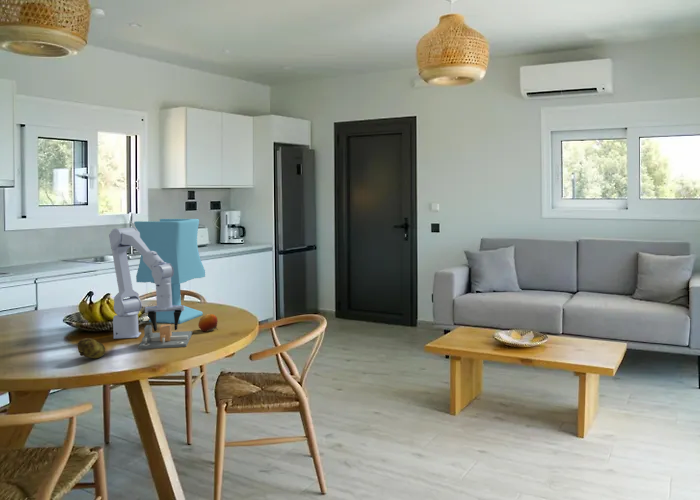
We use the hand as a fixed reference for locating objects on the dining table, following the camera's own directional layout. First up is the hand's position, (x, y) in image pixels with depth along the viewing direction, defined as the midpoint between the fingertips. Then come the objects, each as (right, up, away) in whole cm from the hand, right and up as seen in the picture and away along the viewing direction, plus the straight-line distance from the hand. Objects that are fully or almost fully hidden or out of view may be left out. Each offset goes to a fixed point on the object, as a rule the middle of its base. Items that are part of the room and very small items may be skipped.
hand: (165, 329), depth 255 cm
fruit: (+12, -3, +21) cm, 25 cm away
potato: (-20, -8, -21) cm, 30 cm away
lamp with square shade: (-10, -1, +47) cm, 48 cm away
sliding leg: (0, -4, -2) cm, 4 cm away
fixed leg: (-6, -4, -2) cm, 8 cm away
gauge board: (-1, -5, +3) cm, 6 cm away
